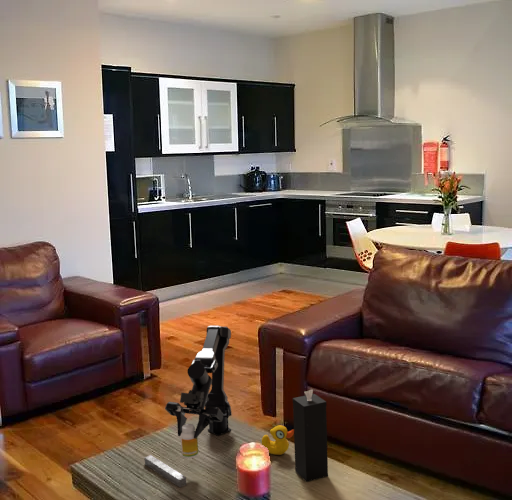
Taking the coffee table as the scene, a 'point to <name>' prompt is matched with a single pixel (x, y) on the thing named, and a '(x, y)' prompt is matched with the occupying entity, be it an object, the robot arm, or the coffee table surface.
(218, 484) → the coffee table surface
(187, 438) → the supplement bottle
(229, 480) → the coffee table surface
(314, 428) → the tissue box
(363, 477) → the coffee table surface
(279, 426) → the duckling
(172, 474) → the price rail
